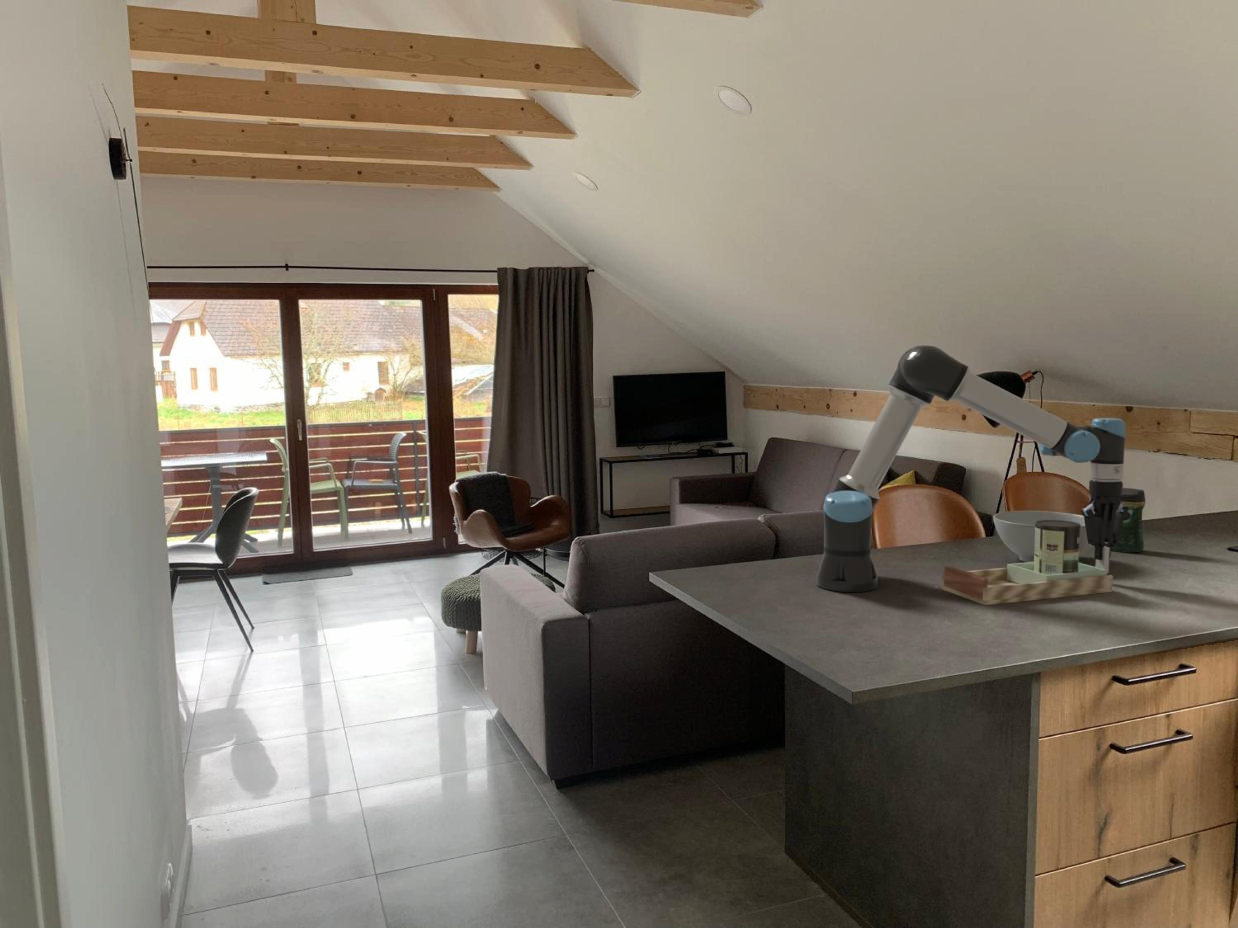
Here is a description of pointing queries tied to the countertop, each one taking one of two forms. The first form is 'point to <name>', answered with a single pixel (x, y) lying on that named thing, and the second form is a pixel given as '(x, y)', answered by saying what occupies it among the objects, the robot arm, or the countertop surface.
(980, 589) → the bay
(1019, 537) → the decorative bowl
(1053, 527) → the coffee can
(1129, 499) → the coffee jar
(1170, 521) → the countertop surface
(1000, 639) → the countertop surface
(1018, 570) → the mint green tray
